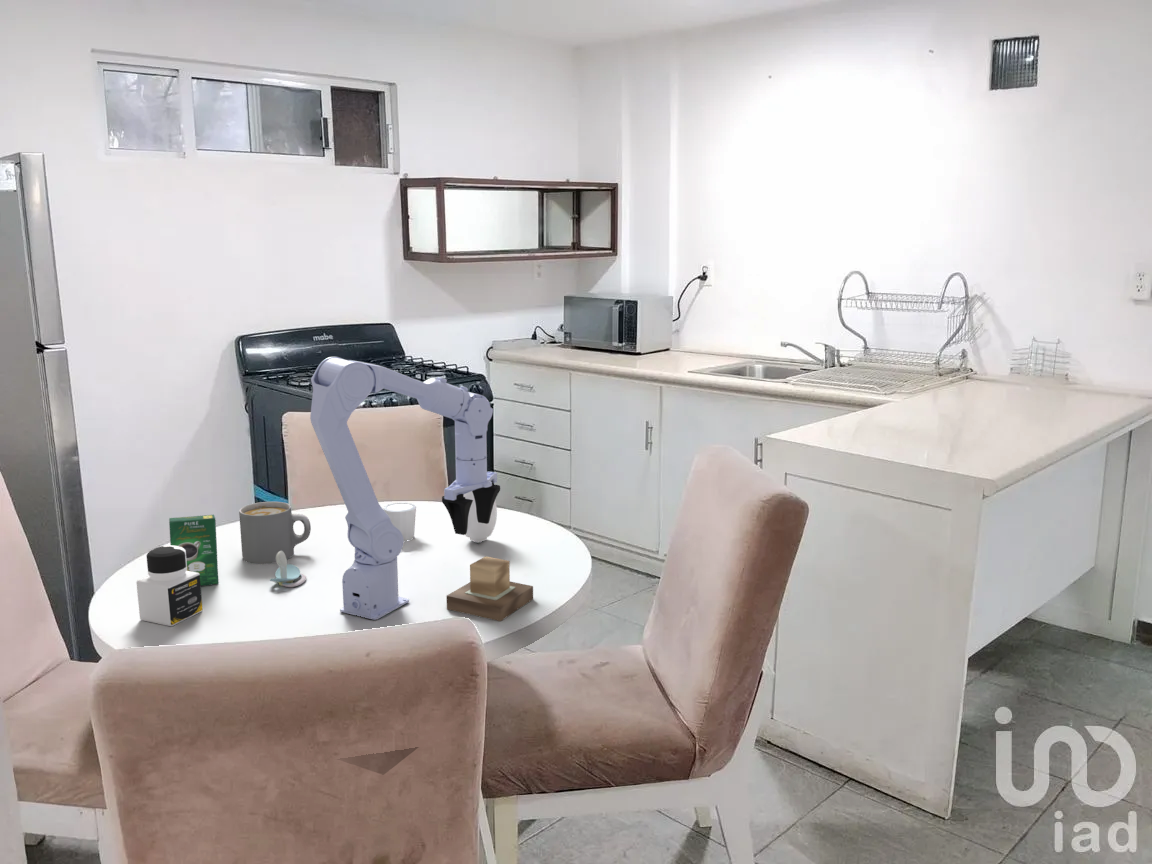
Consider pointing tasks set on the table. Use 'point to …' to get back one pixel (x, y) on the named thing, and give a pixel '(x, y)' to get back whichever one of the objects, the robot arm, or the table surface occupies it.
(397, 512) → the white cup
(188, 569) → the coffee box
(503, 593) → the walnut base
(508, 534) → the table surface
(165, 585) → the medicine bottle
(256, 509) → the coffee mug
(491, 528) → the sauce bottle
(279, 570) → the pacifier
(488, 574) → the oak cube
